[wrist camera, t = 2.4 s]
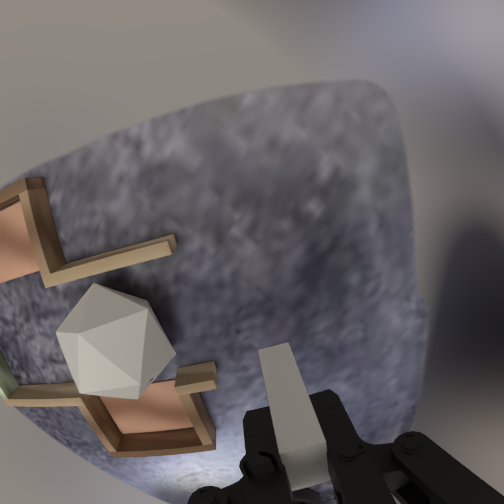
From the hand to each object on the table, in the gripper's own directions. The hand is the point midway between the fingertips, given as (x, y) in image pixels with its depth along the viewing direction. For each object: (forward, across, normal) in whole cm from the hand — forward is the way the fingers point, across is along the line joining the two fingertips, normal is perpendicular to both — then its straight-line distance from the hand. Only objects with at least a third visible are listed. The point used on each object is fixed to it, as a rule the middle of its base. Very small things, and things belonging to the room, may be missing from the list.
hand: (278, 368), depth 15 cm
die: (+12, +12, 0) cm, 17 cm away
